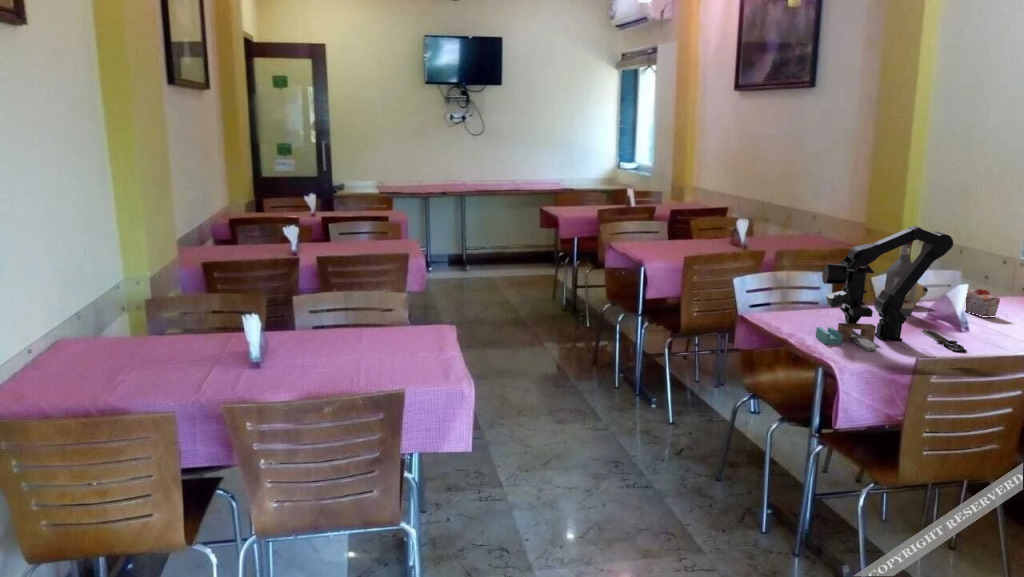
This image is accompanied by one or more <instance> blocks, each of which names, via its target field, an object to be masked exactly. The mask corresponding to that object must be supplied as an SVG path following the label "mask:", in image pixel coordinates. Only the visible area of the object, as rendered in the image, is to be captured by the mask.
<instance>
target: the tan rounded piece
mask: <svg viewBox="0 0 1024 577" xmlns="http://www.w3.org/2000/svg"><path fill="white" fill-rule="evenodd" d="M928 291H929V290H928V288H927V287H926V286H925V285H924V284H920V283H919V282H918V281H917V286H916V293H915V299H914V305H913V307H916V306H917V303H919V302H920V301H921V299H922V298H924V297H925V296H926V295H927V293H928Z"/></svg>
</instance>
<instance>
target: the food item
mask: <svg viewBox="0 0 1024 577" xmlns="http://www.w3.org/2000/svg"><path fill="white" fill-rule="evenodd" d="M967 290H968V293H967V297H966V311H967V312H966V313H968V312H970V313H974V314H978V315H981V316H995V315H997V311H998V309H999V305H1000V301H1001V298H1000V297H996V296H993V295H990V291H988V290H987V289H982V288H980V289H971V288H970V289H967ZM995 317H996V316H995Z"/></svg>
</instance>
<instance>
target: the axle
mask: <svg viewBox="0 0 1024 577" xmlns="http://www.w3.org/2000/svg"><path fill="white" fill-rule="evenodd" d="M851 341H852V342H853V344H856V345H857V346H859V347H860V348H861V349H864V350H865V351H866V352H867V353H875V351H876V350H877V344H876V343H875V342H871V341H870V340H868V339H867V338H865V337H863V336H862V335H860V333H859V332H857V331H855V329H852V333H851V340H850V342H851Z"/></svg>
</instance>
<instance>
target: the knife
mask: <svg viewBox="0 0 1024 577" xmlns="http://www.w3.org/2000/svg"><path fill="white" fill-rule="evenodd" d="M921 332H922V333H923V334H925V335H927V336H928V337H930V338H932V339H933V340H935V341H936V344H939V345H942V347H943V346H944V347H943V348H945V349H946V348H947V350H948V349H951V352H953V353H963V354H964V353H967V351H968V350H967V349H965V347H964V346H963V345H961V344H959V343H958V341H956V340H949V339H947V338H946V337H944V336H942V335H941V334H939V333H937V332H936V331H933V330H928V329H927V330H926V329H922V330H921ZM946 342H947V343H950V344H947V343H946ZM951 344H954V345H951Z"/></svg>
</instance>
